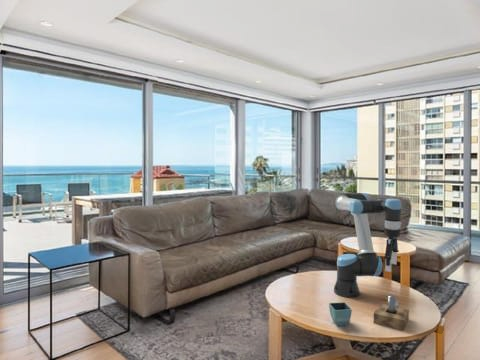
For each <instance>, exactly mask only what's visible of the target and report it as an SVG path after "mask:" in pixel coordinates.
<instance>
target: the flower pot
mask: <svg viewBox="0 0 480 360" xmlns="http://www.w3.org/2000/svg"><path fill="white" fill-rule="evenodd" d="M328 305H329V306H328V307H329V314H330V317H331V319H332V321H333V322H334V324H335V325H336V327H338V326H339V327H340V326H347V325H348V324H349V323H350V321H351V317H352V310H353V309H352V308H351V307H350V306H349V304H348V303H346V302H345V301H344V302H341V301H340V302H329V303H328Z"/></svg>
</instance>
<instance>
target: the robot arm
mask: <svg viewBox="0 0 480 360" xmlns="http://www.w3.org/2000/svg"><path fill="white" fill-rule="evenodd" d="M333 205H334V207H335V208H336V209H337V210H339V211H340V210H341V211H349V212H350V215H352V217H353V220H354V227H355V234H356V239H357V247H358V253H357V255H356V254H354V253H343V254H340V255H339V256H337V261H336V281H335V284H334V287H333V292H334V293H335V295H338V296H340V297H345V298H356V297H359V296H360V288H359V284H358V282H357V280H358V279H357V277H376V276H377V277H378V276H380V275H381V273H382V270H383V261H382V257H380V256H379V255H378V254H377V252H376V251H375V250H374V245H373V240H372V239H373V238H372V233H371V229H370V223H369V216H368V214H371V215H375V214H376V215H378V214H379V215H384V235H385V236H386V237H388V238H387V239H386V246H385V254H384V256H383V259H385V263H384V265H385V267H384V268H385V269H384V270H385V271H384V272H389V273H391V272H392V265H397V263H398V253H399V252H400V251H399V247H398V246H399V244H398V238H399V237H400V236H401V225H402V224H403V223H402V222H401V221H402V220H401V219H402V217H401V216H402V200H401V199H399V198H386V199H382V198H378V199H371V198H370V195H368V194H367V193H365V192H343V193H339V194H337V195H336V196H335V197H334V199H333Z"/></svg>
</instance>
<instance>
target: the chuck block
mask: <svg viewBox="0 0 480 360" xmlns="http://www.w3.org/2000/svg"><path fill="white" fill-rule="evenodd" d="M400 302H401V301H399V300H395V314H392V313H388V304H385V303H382V302H381V303H379V304H378V306H377V307H376V308H375V310H374V312H373V324H377V325H380V326H384V327H389V328H393V329H396V330H400V331H403V330H404V329H405V330H406V326H407V324H408V321H409V316H410V314H409V312H410V311H409V309H407V308H402V307H400V305H401V303H400ZM405 330H404V331H405Z"/></svg>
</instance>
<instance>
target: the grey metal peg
mask: <svg viewBox="0 0 480 360" xmlns="http://www.w3.org/2000/svg"><path fill="white" fill-rule="evenodd" d="M396 299H397V297H396V295H393V294H388V296H387V305H388V313H392V314H395V302H396Z"/></svg>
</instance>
